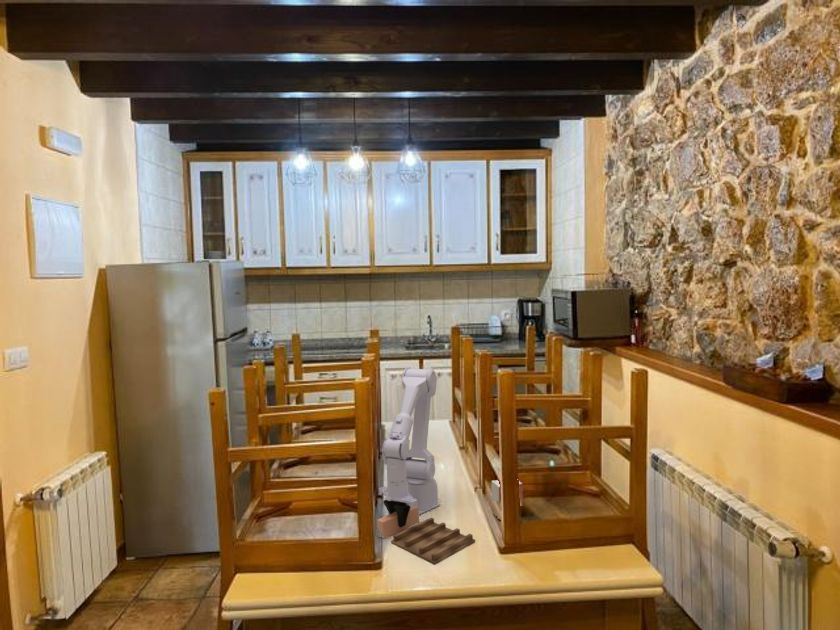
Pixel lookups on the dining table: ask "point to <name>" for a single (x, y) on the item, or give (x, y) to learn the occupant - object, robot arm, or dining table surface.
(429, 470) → the robot arm
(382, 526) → the clay block
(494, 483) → the small box
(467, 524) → the dining table surface
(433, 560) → the rack
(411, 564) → the dining table surface
